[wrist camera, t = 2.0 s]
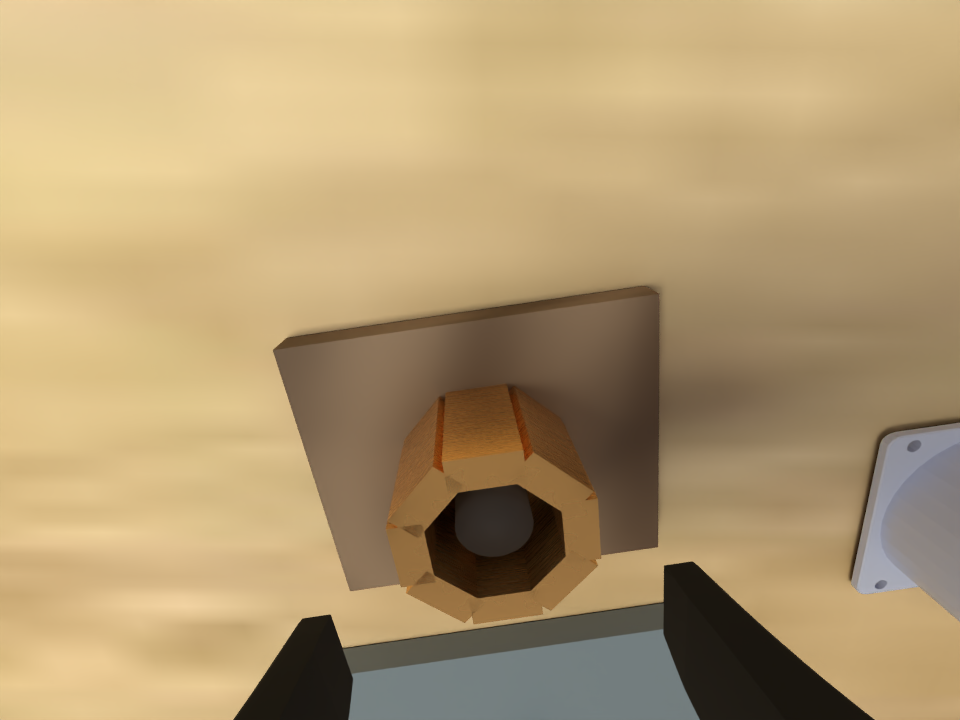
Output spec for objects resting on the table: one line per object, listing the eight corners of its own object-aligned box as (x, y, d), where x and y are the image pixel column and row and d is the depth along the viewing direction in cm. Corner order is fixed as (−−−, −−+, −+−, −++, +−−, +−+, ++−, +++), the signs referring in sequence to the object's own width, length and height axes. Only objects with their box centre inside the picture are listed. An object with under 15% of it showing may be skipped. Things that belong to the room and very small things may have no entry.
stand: (644, 286, 15) (716, 324, 11) (645, 525, 19) (701, 623, 14) (286, 338, 15) (221, 396, 11) (356, 566, 19) (327, 676, 14)
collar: (559, 376, 15) (595, 440, 11) (570, 512, 17) (603, 605, 13) (392, 399, 15) (370, 472, 11) (422, 533, 17) (413, 632, 13)
